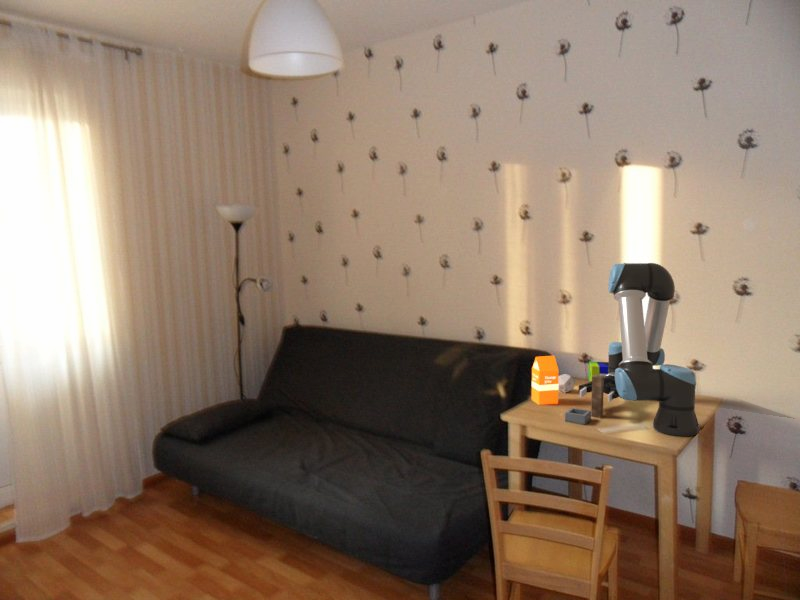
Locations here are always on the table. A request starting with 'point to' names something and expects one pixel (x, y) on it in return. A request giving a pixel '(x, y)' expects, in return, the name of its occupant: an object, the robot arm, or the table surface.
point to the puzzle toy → (598, 369)
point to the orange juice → (545, 380)
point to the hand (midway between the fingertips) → (594, 396)
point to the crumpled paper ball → (565, 383)
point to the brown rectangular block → (597, 396)
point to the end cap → (578, 416)
